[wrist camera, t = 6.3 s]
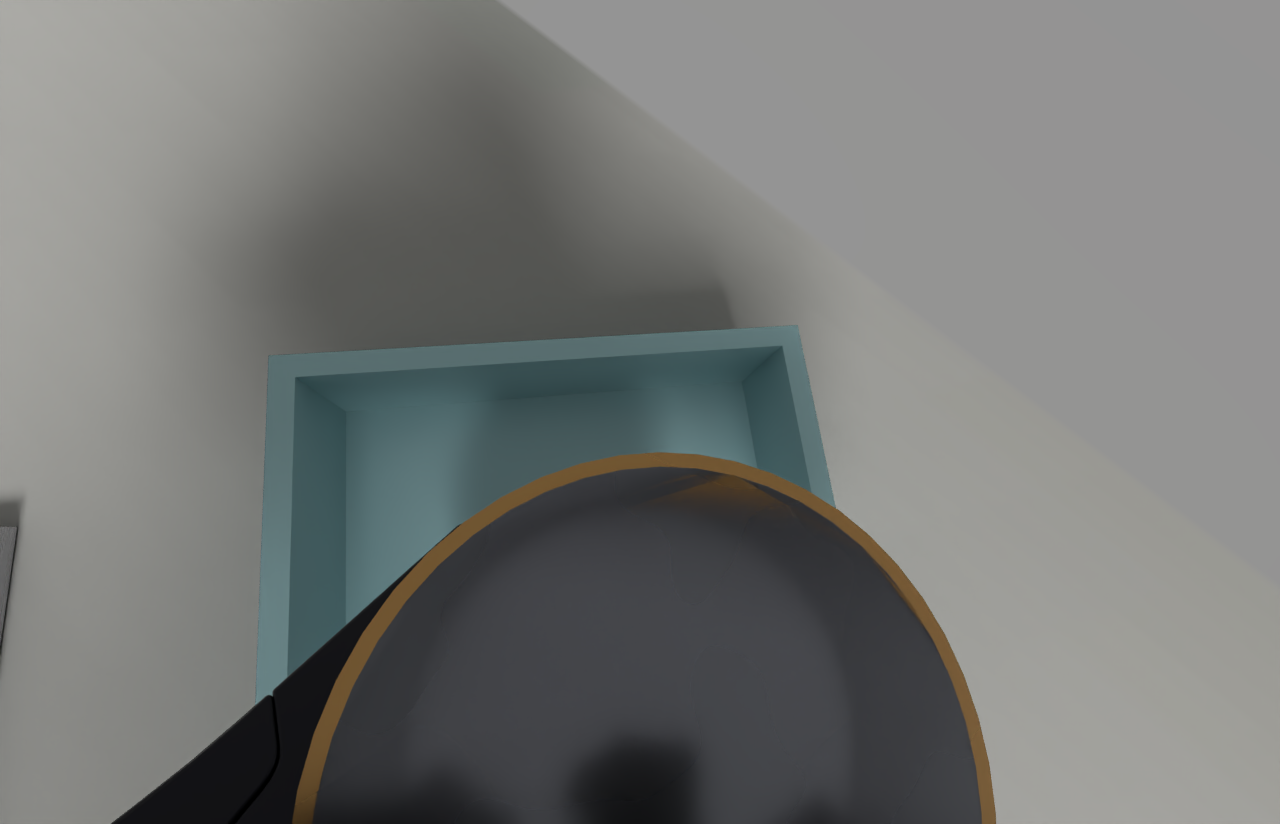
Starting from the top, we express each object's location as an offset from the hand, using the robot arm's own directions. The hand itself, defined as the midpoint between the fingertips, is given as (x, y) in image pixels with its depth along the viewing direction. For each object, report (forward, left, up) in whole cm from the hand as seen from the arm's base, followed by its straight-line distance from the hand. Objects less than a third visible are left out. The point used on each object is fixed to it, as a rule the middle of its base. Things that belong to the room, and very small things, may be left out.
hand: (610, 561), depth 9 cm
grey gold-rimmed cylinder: (-1, 0, -7) cm, 7 cm away
